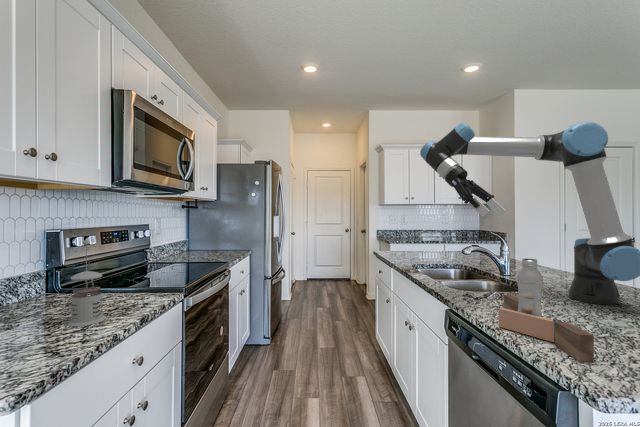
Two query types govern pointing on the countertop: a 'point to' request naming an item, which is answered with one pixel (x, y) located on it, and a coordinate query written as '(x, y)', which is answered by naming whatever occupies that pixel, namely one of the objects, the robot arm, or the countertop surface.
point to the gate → (528, 324)
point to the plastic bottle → (529, 288)
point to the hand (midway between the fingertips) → (495, 213)
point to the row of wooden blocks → (565, 335)
